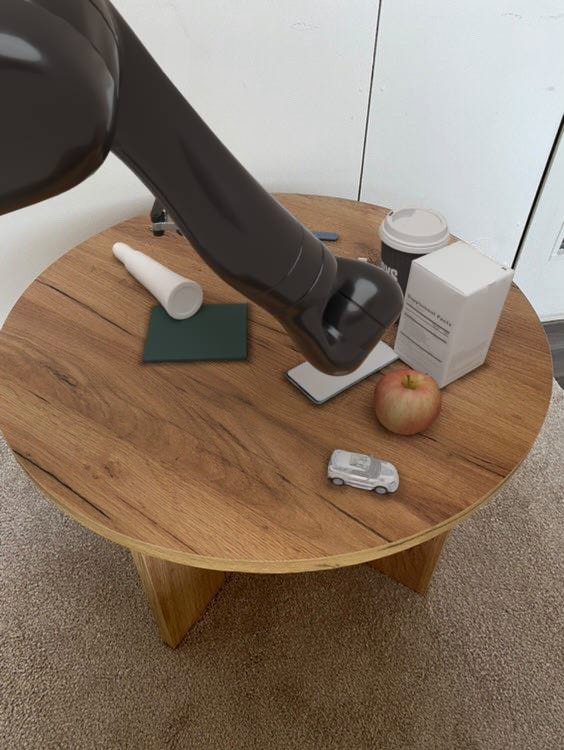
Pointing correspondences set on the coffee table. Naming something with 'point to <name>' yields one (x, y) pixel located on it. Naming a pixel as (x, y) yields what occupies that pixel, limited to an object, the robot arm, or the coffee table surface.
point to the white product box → (451, 311)
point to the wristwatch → (325, 235)
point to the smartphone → (327, 386)
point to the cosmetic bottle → (162, 282)
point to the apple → (407, 401)
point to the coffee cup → (410, 239)
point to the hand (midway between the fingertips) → (162, 181)
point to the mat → (198, 335)
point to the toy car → (362, 472)
